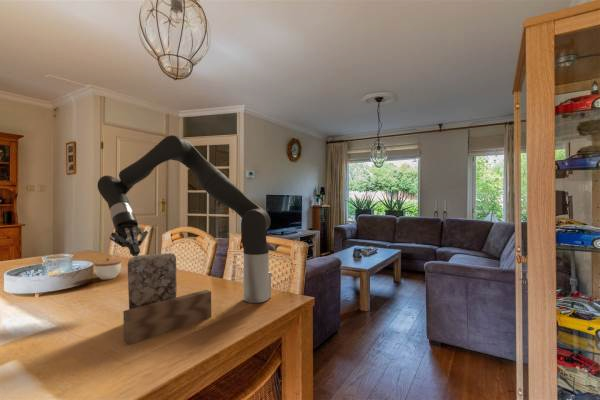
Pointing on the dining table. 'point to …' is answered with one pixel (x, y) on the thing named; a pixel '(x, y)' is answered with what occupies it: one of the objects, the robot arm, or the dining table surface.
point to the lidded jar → (107, 268)
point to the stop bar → (165, 316)
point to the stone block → (151, 279)
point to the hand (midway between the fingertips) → (136, 254)
